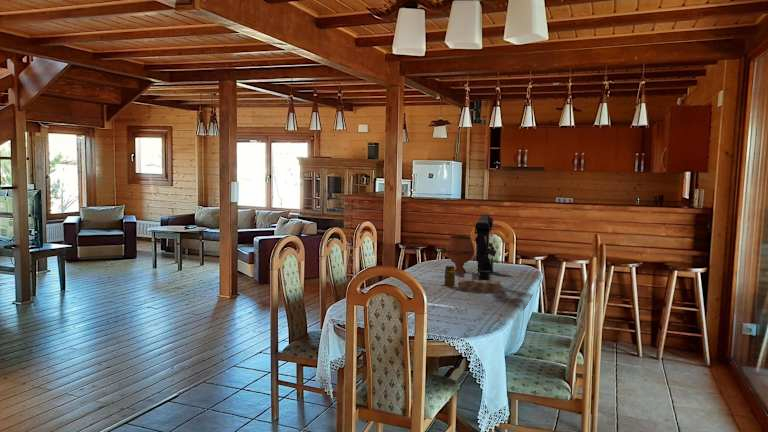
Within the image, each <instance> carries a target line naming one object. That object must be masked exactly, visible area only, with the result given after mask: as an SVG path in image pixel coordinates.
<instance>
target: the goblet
mask: <svg viewBox="0 0 768 432" xmlns="http://www.w3.org/2000/svg"><path fill="white" fill-rule="evenodd" d="M449 237H450V239H449V240H448V243H447V246H446V250H445V254H446V256H447V257H448V259H449V260H450V261H451V262H452V263H454V271H455V274H465V273H467V271H466V269H465V268H464V266H465V263H468V262H469V261H470V260H472V258H473V257H474V254H475V246H474V244H473V241H472V240H473V239H472V237H471V236H470V235H463V234H462V235H461V234H457V235H455V234H454V235H450V236H449Z"/></svg>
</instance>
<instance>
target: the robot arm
mask: <svg viewBox="0 0 768 432" xmlns="http://www.w3.org/2000/svg"><path fill="white" fill-rule="evenodd" d="M478 219H479V220H478V221H477V222H476V223H475V225H474V226H475V227H474V234H475V235H476V237H475V238H474V242H475V244H476V252H475V253H476V254H475V259H476V262H477V274H479V275H478V280H490V281H491V274H493V273H494V265H493V266H492V264H491V261H490V259H489V257H488V254H490V255H492V256H493V258H494V257H495V256H496V255H497V250H495V247H494V248H493V247H491V248H489V243H490V233H491V232H492V231H493V227H494V219H493V218H492V217H491V216H490V214H485V213H483V214H481V215H480V218H478ZM479 270H480V271H479Z"/></svg>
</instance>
